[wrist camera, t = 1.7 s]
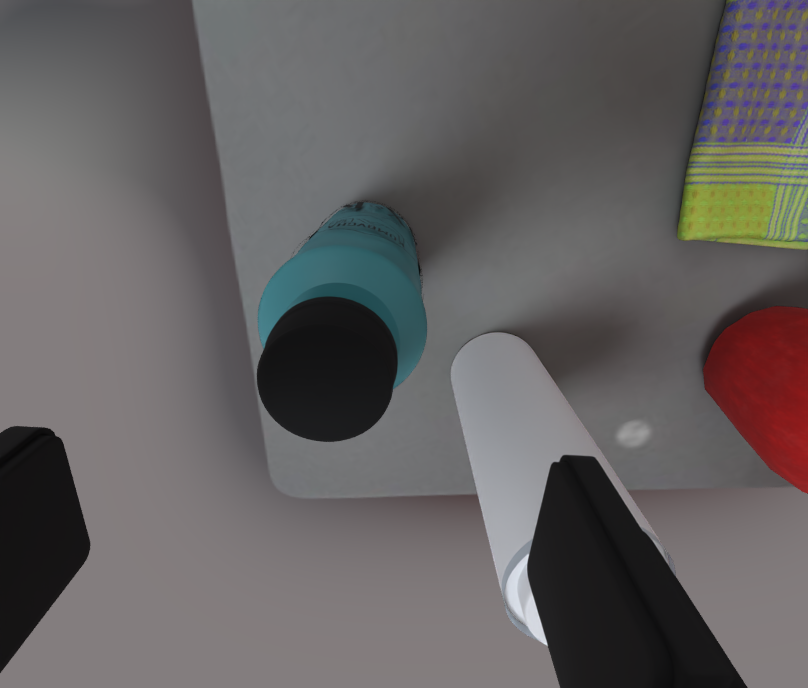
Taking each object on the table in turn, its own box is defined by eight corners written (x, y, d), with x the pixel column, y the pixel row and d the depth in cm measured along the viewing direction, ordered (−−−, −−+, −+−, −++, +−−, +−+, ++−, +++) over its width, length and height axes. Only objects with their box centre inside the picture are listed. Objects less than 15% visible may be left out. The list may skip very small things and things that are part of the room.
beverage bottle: (418, 289, 32) (449, 478, 14) (325, 294, 32) (231, 491, 14) (414, 192, 30) (444, 268, 11) (312, 199, 30) (176, 284, 11)
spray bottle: (552, 380, 35) (843, 815, 12) (479, 422, 37) (617, 882, 14) (509, 314, 33) (768, 697, 10) (433, 362, 34) (507, 792, 12)
